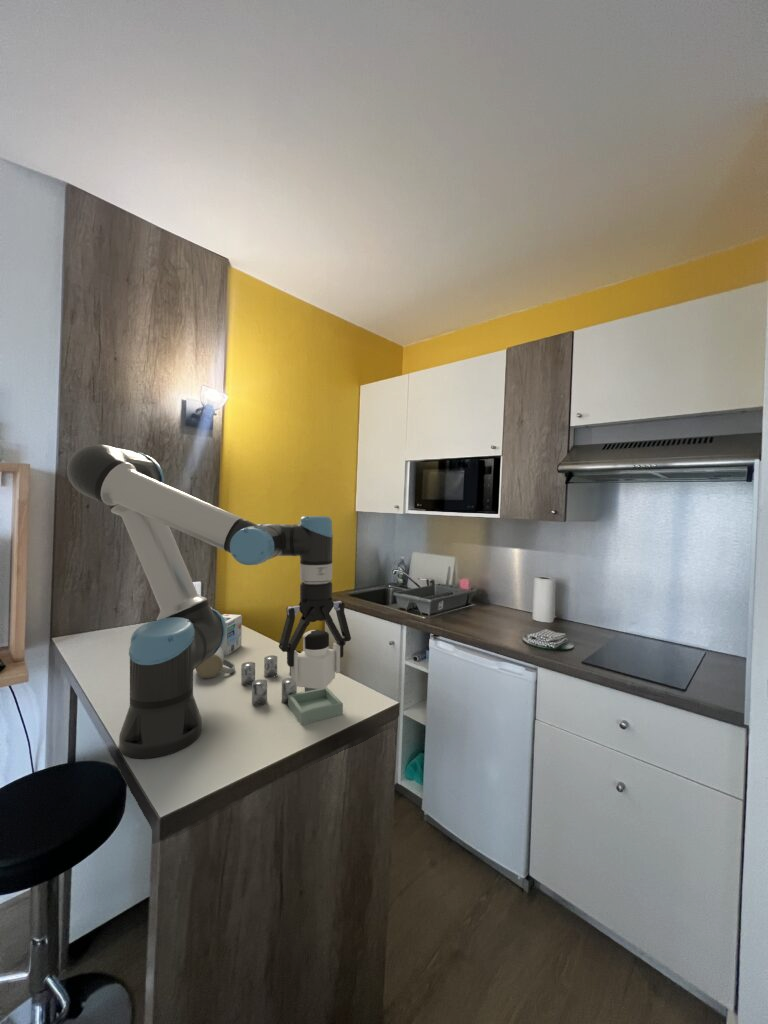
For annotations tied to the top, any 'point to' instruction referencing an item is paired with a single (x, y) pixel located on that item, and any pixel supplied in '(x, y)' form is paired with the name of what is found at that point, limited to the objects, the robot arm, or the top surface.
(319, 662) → the medicine bottle
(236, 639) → the light bulb box
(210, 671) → the ceramic mug
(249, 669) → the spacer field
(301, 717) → the tray
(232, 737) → the top surface
